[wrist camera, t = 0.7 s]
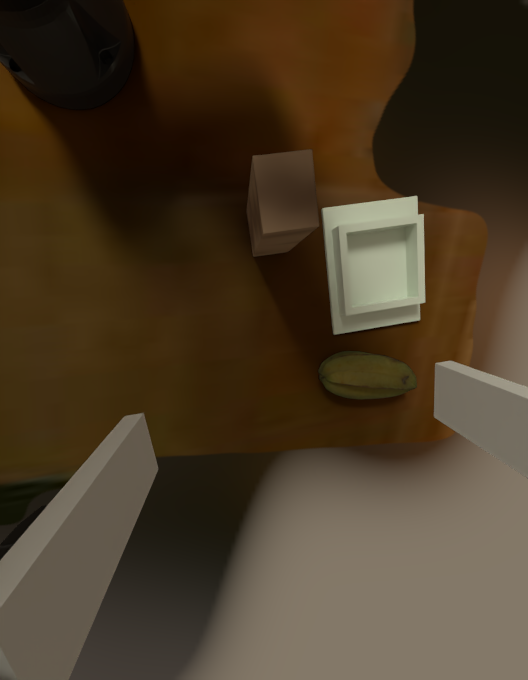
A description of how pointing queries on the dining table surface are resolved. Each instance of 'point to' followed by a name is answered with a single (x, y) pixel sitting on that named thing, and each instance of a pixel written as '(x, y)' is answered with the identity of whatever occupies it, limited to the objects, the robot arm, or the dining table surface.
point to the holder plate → (374, 263)
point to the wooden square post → (281, 201)
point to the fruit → (365, 375)
